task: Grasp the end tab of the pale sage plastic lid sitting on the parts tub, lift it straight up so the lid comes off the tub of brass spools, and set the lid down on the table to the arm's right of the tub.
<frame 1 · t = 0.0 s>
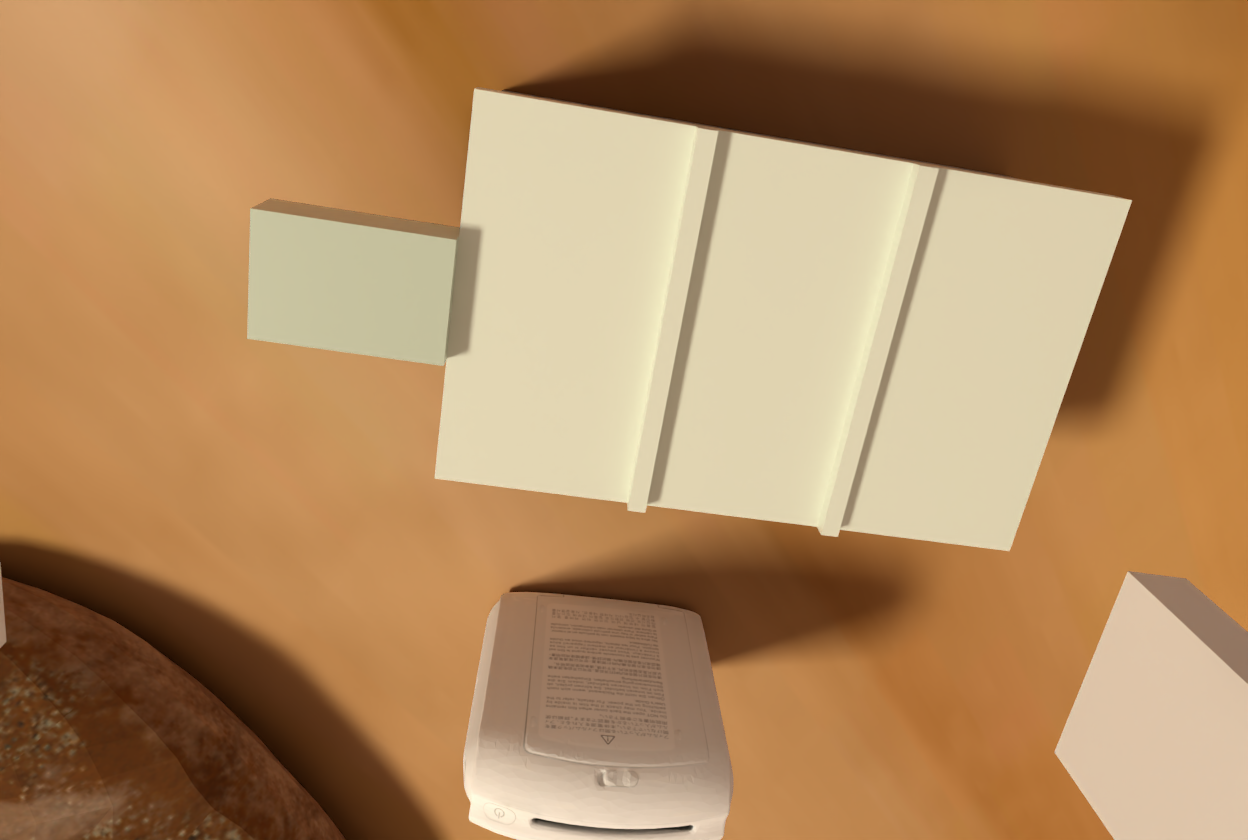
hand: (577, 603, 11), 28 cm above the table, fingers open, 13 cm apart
lid: (763, 334, 32), point 7 cm above the table, touching tub
tub: (731, 286, 39), on the table
photo printer: (594, 627, 44), on the table
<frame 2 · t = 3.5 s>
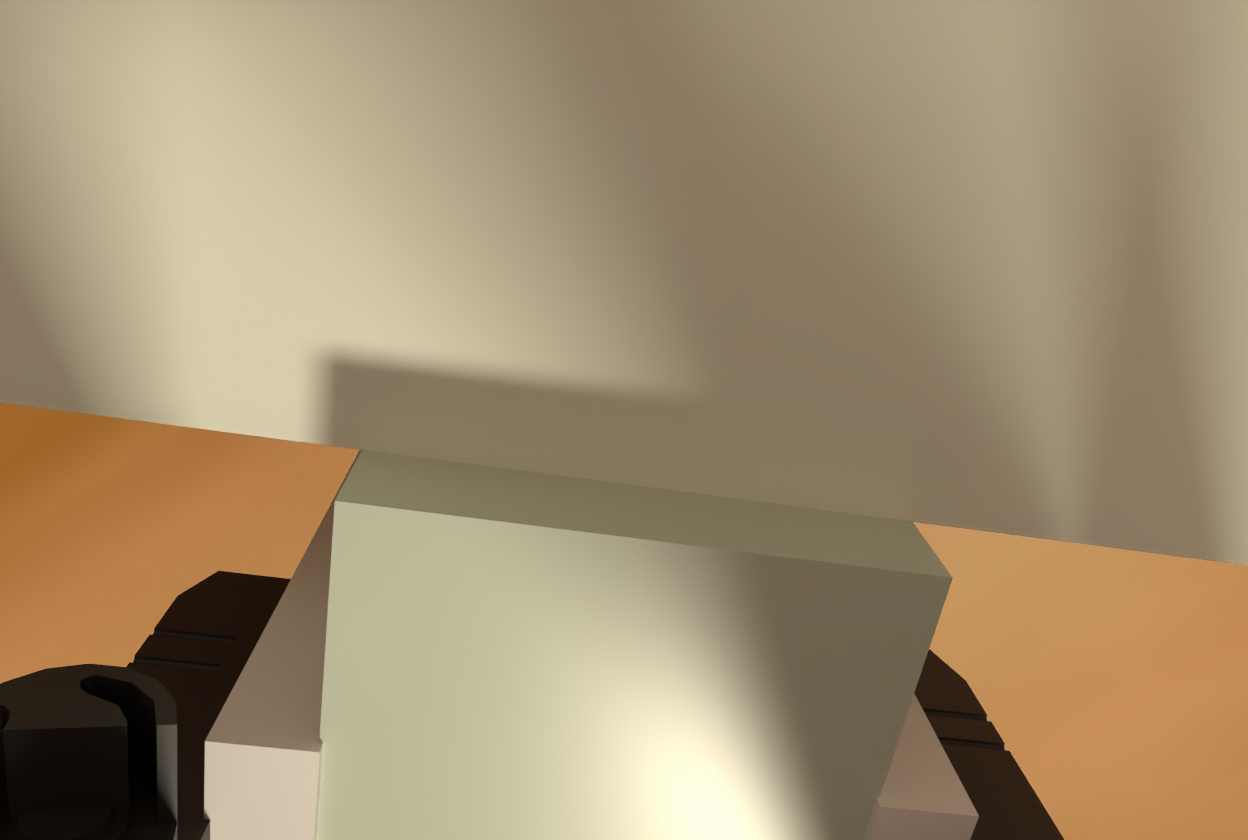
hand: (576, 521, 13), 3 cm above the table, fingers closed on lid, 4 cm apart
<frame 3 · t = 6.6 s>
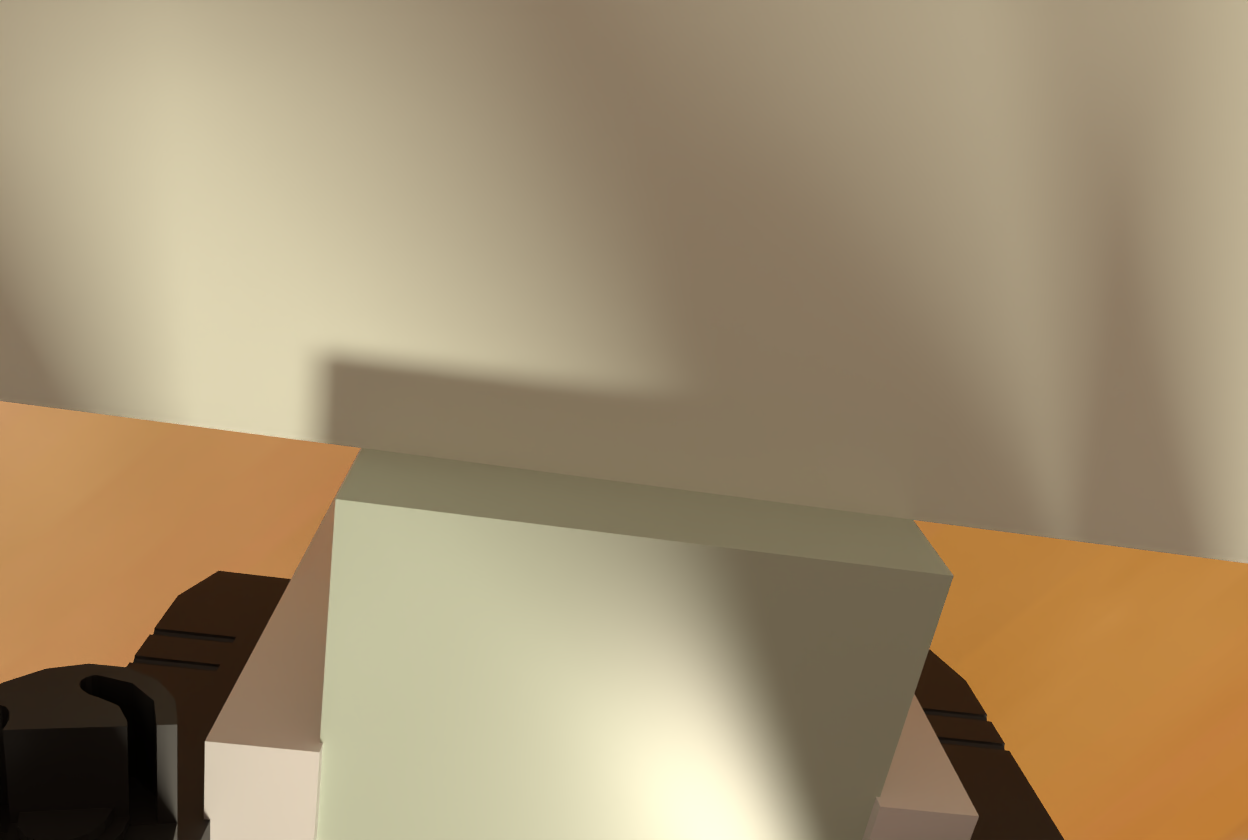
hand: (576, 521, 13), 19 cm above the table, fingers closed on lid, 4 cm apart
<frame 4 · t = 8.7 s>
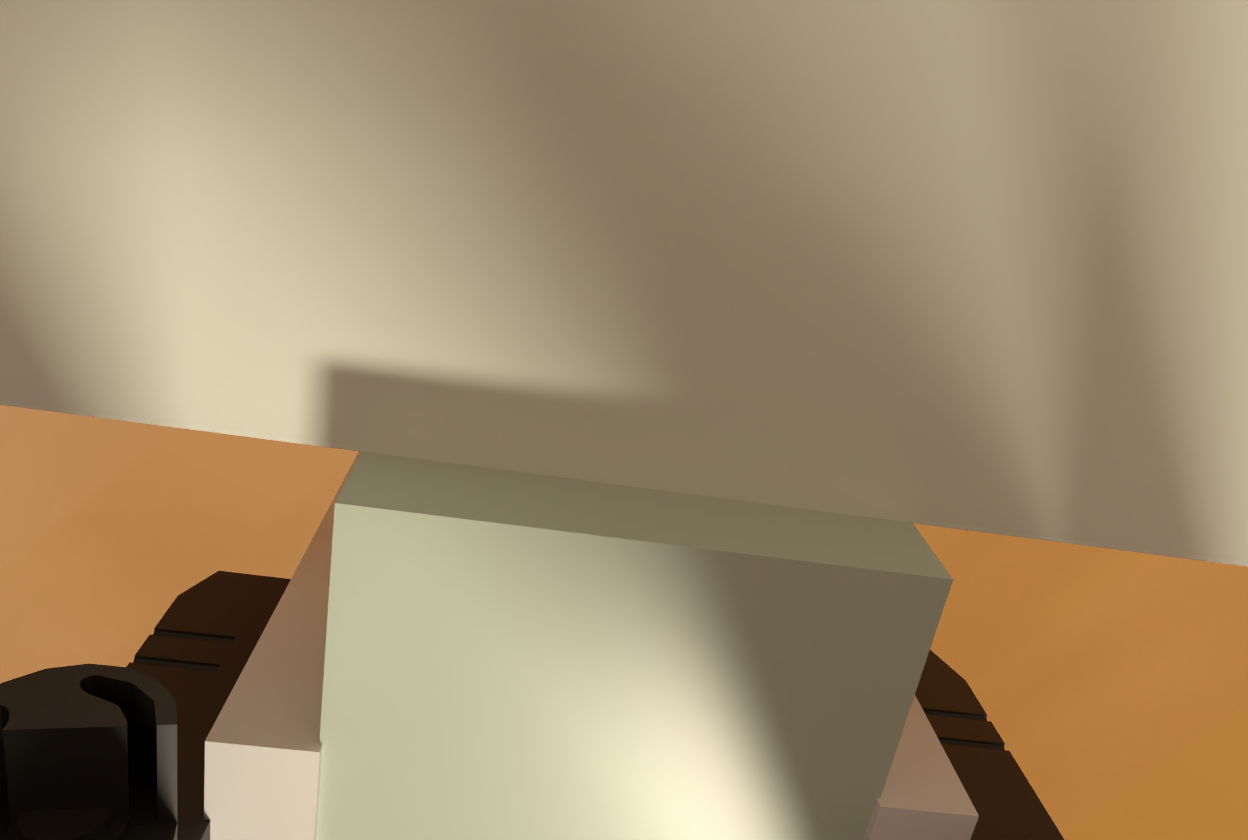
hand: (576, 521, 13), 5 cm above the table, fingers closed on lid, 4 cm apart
when the fingers open (2 cm above the table, at t = 9.6 s): lid drops 5 cm, point 1 cm above the table.
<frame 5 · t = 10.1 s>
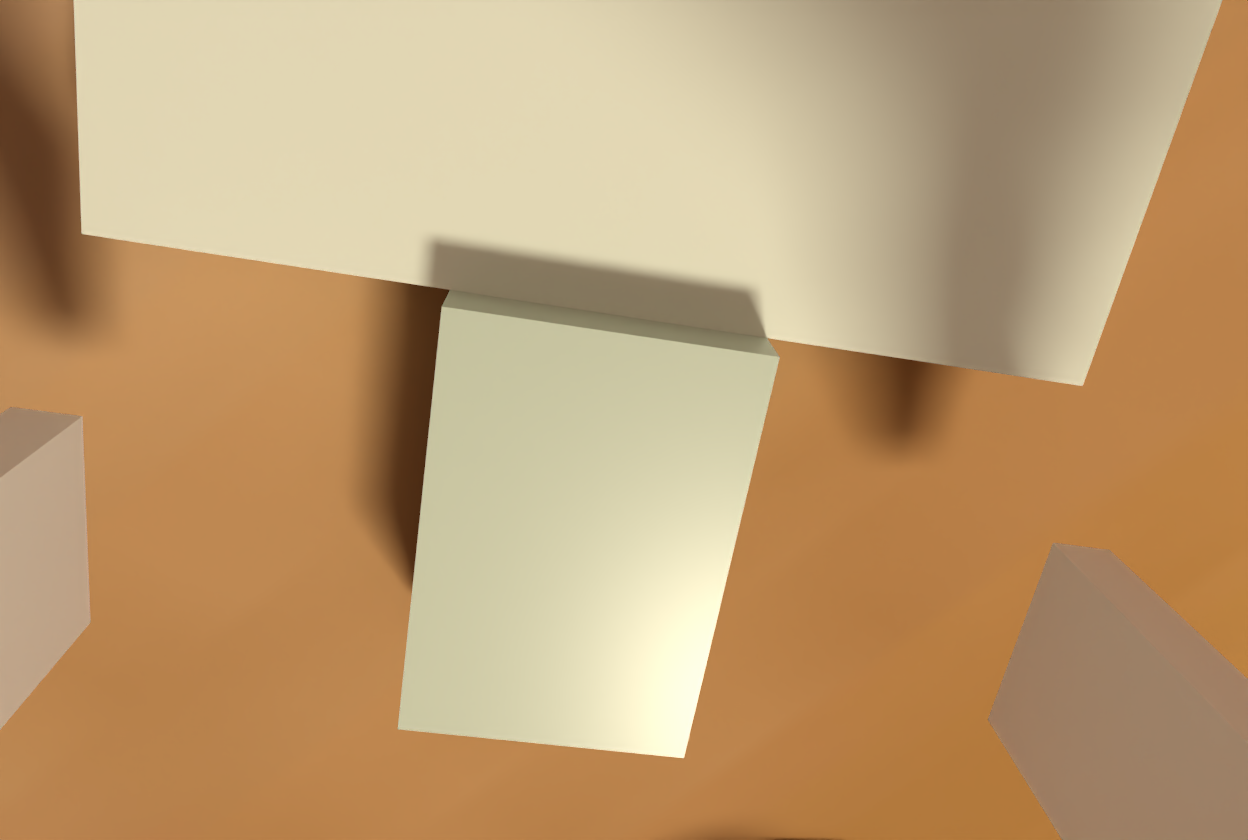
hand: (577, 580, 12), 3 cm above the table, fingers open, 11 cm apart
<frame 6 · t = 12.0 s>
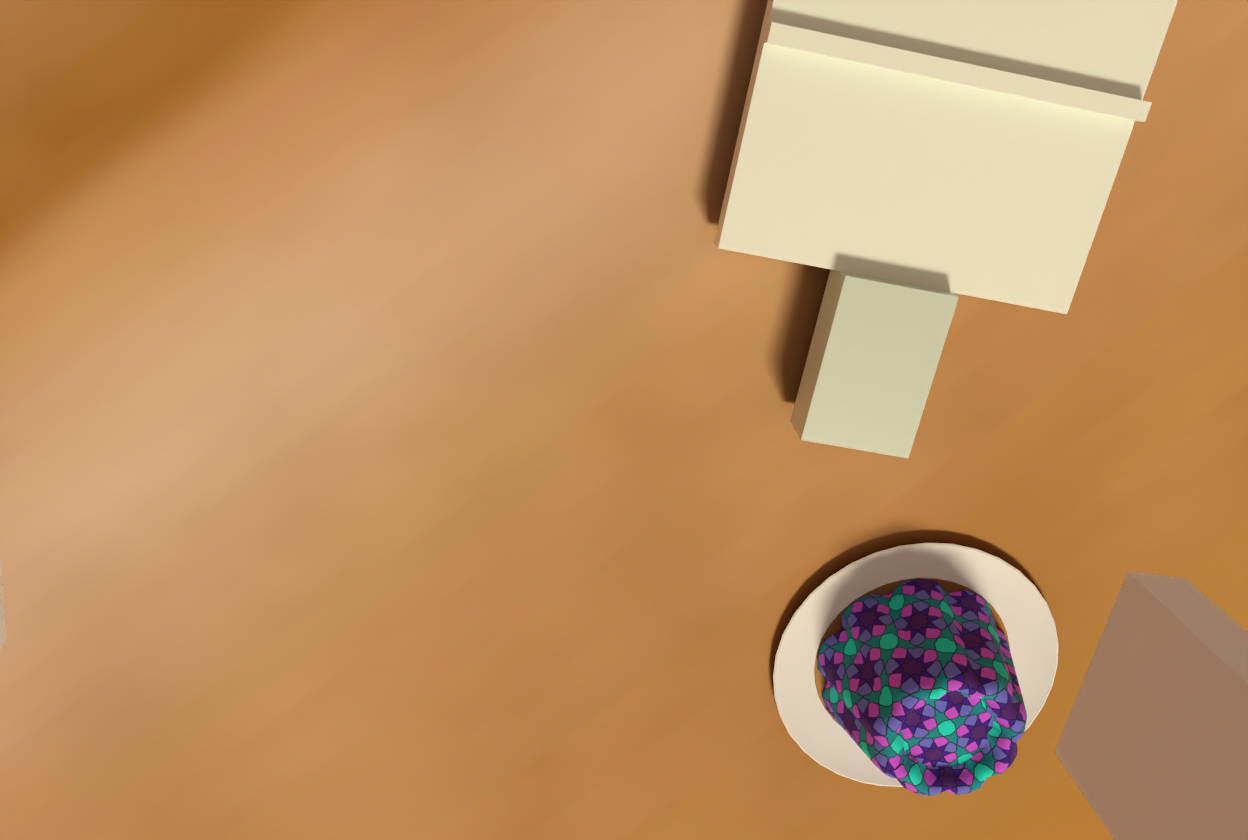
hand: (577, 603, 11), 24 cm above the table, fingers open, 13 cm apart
patterned hat: (908, 657, 41), on the table
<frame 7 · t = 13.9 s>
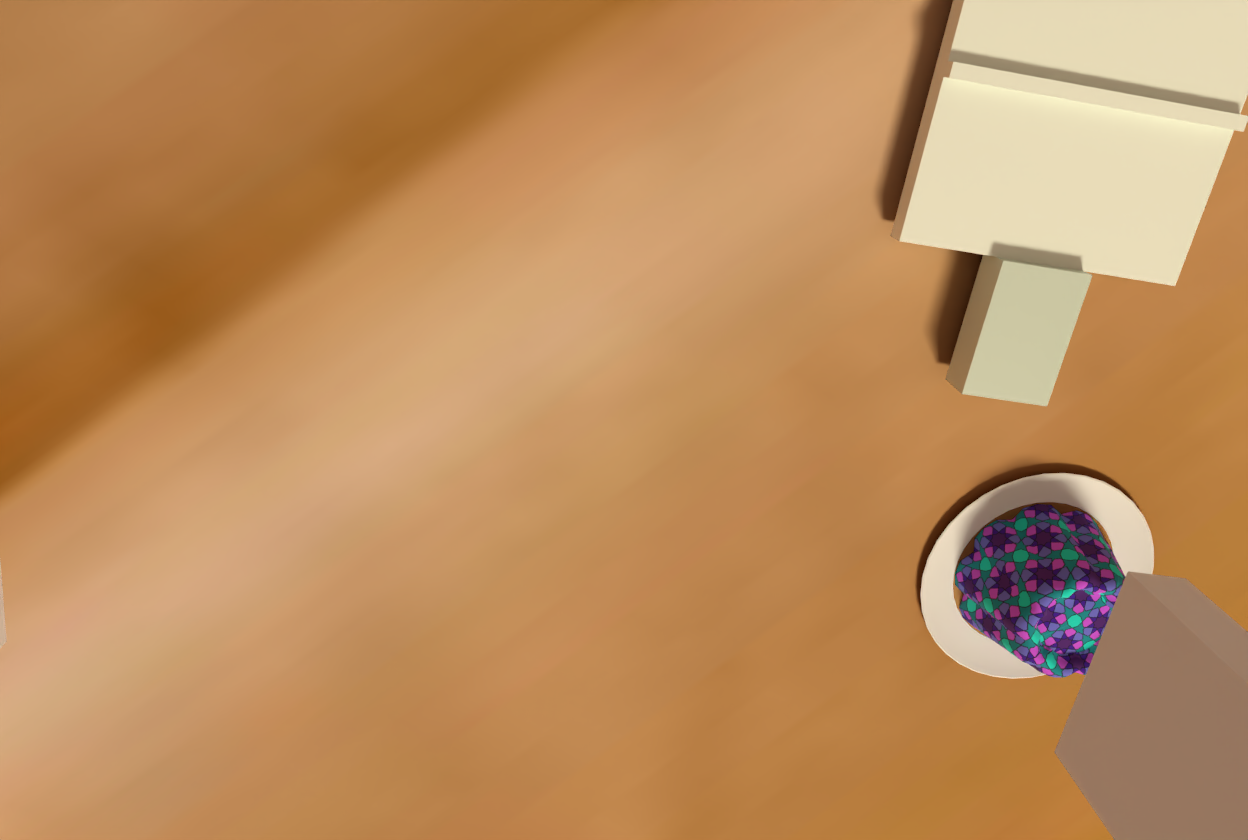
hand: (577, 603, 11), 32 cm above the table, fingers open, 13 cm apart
lid: (1107, 7, 38), point 1 cm above the table
patterned hat: (1028, 570, 49), on the table
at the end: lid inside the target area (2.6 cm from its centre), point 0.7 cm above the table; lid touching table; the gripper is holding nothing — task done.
